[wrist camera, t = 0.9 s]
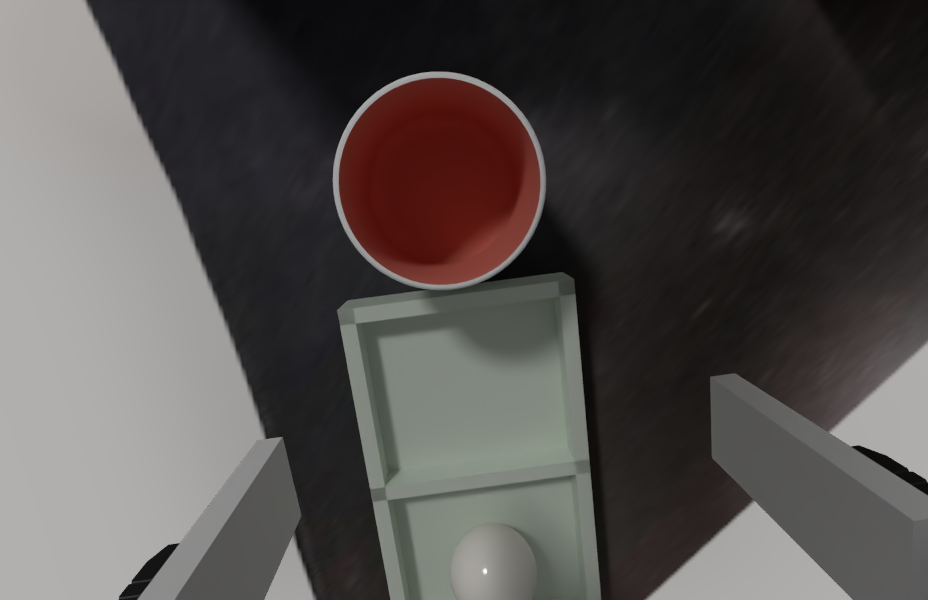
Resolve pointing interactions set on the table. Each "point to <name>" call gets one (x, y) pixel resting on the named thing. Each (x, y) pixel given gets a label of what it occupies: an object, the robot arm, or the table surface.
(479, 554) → the egg
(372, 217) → the cup
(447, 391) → the holder
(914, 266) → the table surface
